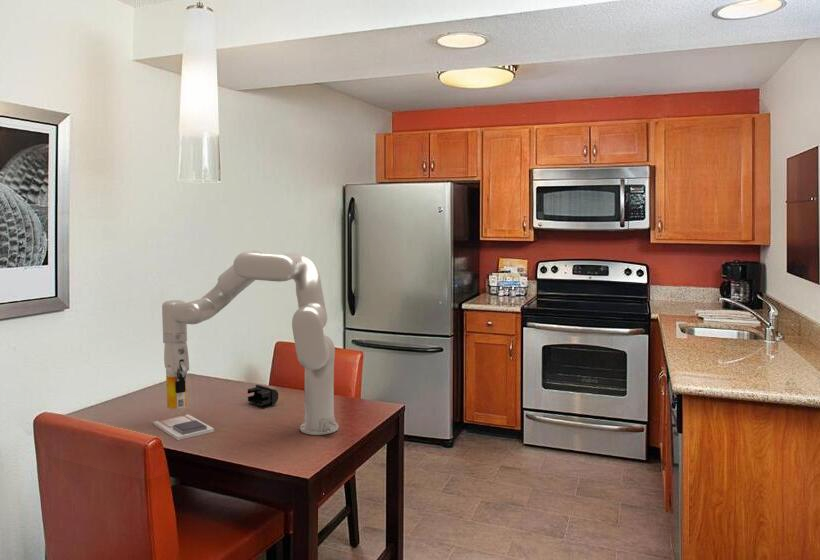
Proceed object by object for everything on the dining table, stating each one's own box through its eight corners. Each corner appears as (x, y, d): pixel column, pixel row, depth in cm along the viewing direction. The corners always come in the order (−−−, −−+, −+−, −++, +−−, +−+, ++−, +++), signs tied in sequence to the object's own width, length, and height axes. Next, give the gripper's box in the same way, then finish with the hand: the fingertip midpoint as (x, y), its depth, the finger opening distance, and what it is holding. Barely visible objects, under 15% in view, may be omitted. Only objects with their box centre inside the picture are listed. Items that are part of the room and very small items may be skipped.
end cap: (278, 405, 230) (278, 387, 229) (263, 409, 224) (263, 391, 224) (262, 400, 236) (262, 383, 236) (247, 404, 231) (246, 386, 230)
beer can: (179, 404, 211) (178, 362, 209) (190, 407, 207) (188, 364, 206) (163, 409, 206) (162, 365, 205) (174, 412, 203) (172, 368, 201)
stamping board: (214, 431, 200) (213, 424, 200) (177, 440, 192) (177, 433, 192) (188, 417, 215) (188, 410, 215) (153, 424, 207) (153, 417, 207)
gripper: (197, 339, 201) (198, 393, 202) (175, 332, 213) (177, 383, 215) (174, 342, 196) (175, 397, 197) (153, 335, 208) (155, 387, 210)
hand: (176, 389), depth 206 cm, fingers closed on beer can, 6 cm apart
